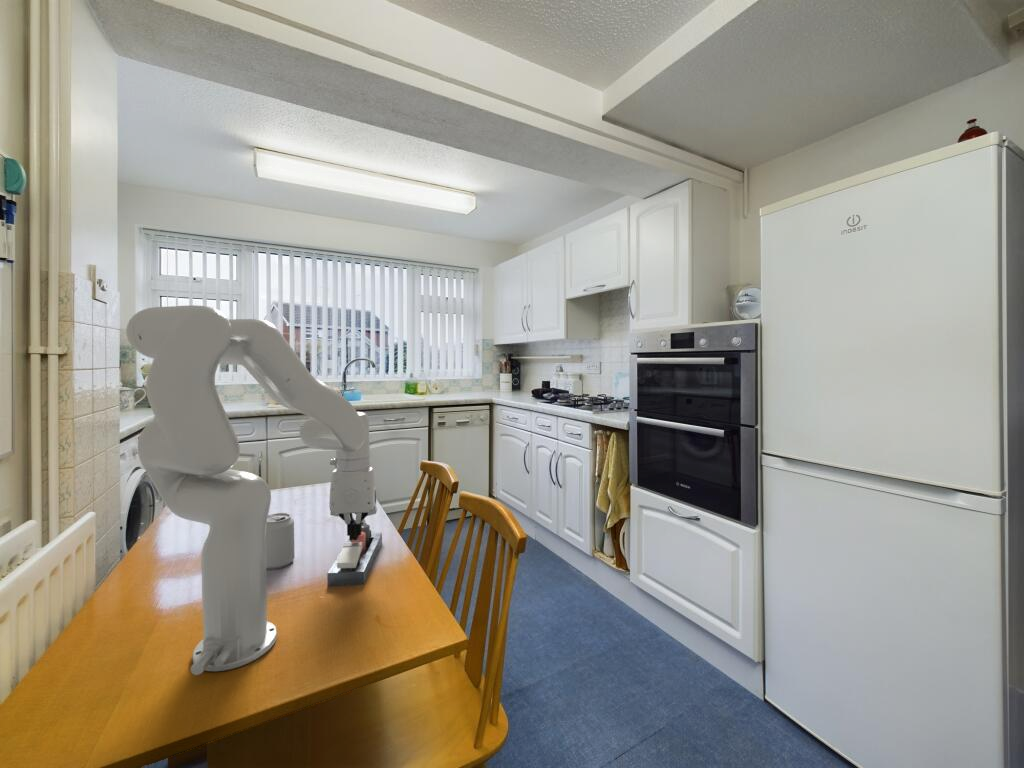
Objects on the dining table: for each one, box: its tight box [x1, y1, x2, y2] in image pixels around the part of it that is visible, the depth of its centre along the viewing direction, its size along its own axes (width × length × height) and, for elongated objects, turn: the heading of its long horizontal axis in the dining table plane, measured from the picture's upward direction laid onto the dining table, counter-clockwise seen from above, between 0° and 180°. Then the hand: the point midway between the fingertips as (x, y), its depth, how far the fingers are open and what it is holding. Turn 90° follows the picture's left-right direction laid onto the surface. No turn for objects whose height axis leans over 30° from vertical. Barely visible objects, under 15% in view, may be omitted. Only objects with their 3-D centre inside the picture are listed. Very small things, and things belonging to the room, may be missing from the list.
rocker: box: [337, 542, 362, 569], centre depth 102 cm, size 7×4×2 cm, turn 6°
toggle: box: [354, 513, 367, 524], centre depth 118 cm, size 2×2×7 cm
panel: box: [326, 529, 383, 587], centre depth 109 cm, size 22×8×4 cm, turn 6°
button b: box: [361, 523, 371, 546], centre depth 115 cm, size 4×4×4 cm
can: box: [266, 512, 295, 570], centre depth 108 cm, size 8×8×12 cm
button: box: [350, 532, 367, 554], centre depth 110 cm, size 4×4×4 cm
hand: (354, 537), depth 105 cm, fingers closed
